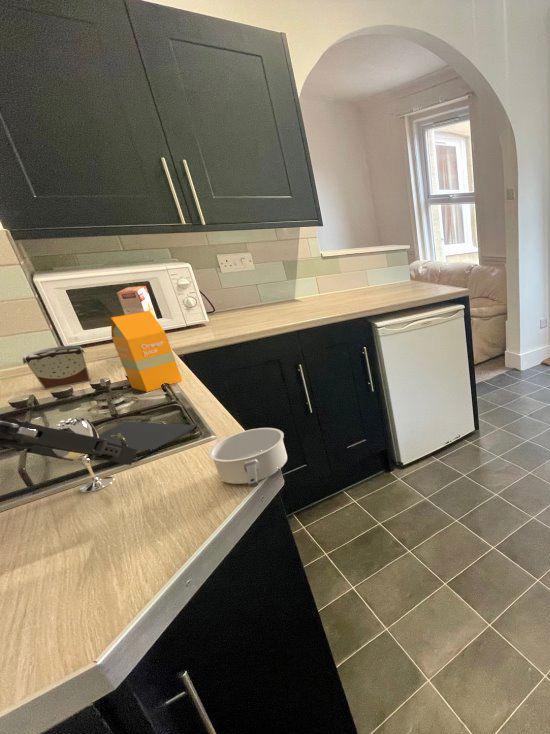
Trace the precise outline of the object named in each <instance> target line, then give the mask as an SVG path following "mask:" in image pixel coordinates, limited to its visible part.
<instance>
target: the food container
mask: <svg viewBox="0 0 550 734" xmlns="http://www.w3.org/2000/svg"><path fill="white" fill-rule="evenodd" d="M84 354H85V355H86V354H87V352H86V351H85V349H84V348H83V347H81V346H80V345H63V346H62V345H61V346H56V347H47V348H43V349H39V350H35V351H32V352H29V353H26V354H24V355H22V364H23V365H25V364H27V366H28V367H29V369H30V370H31V372H32V373H33V374H34V377H35V378H36V379H37V380H38V382H39V384H40V385H41V386H42V388H43V390H45V391H46V390H51V389H56V388H62V387H67V386H73V385H78V384H84V383H89V382H91V381H92V380H91V377H90V373H89V370H88V366H87V363H86V359H85V356H84Z"/></svg>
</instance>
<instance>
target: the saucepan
mask: <svg viewBox="0 0 550 734" xmlns="http://www.w3.org/2000/svg"><path fill="white" fill-rule="evenodd" d="M284 435H285V433H284V432H283V431H282V430H280V429H278V428H274V427H258V428H252V429H247V430H244V431H239V432H237V433H234V434H232V435H229V436H227V437H225V438H222V439H221V440H220V441H218V442H216V443H215V444H214V445H212V446H211V448H210V449H209V451H208V456H209V458H210V459H212V460H213V463H214V465H215V468H216V470H217V474H218V476H219V479H220V480H221V481H222V482H225V483H227V484H235V485H237V484H240V485H244V484H245V485H247V484H248V487H249V488H257V486H258V485H259V482H260V481H263V480H264V479H267V478H269V477H271V476H272V475H274V474H275V473H276V472H278V471H279V470H280V469H282V468H283V467H284V465H286V463H287V462H288V454H287V450H286V447H285V443H284V438H285V436H284ZM261 450H262V451H261ZM277 467H278V468H279V470H278V468H277Z"/></svg>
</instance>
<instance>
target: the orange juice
mask: <svg viewBox="0 0 550 734" xmlns="http://www.w3.org/2000/svg"><path fill="white" fill-rule="evenodd" d="M157 321H158V319H157V320H156V319H155V318H154V316H153V315H152V313H151V312H150V310H148V311H143V312H138V313H132V314H127V315H125V314H122V315H117V316H111V317H110V327H111V331H110V333H111V340H112V342H113V344H114V347H115V350H116V352H117V354H118V357H119V360H120V362H121V365H122V367H123V369H124V371H125V375H126V376H127V380H128V381H129V384H130V387H131V388H132V389H135V390H137V391H141V392H146V393H148V392H151V391H154V390H157V389H160V388H162V387H161V385H162V384H164V383H169V384H170V385H173V384H175V383H178V382H182V381H183V380H182V375H181V374H180V370H179V368H178V364H177V362H176V359H175V356H174V353H173V350H172V348H171V345H170V342H169V339H168V336H167V333H166V331H165V329H164V328H163V327H162V326H161V324H160V323H159V321H158V322H157Z"/></svg>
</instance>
